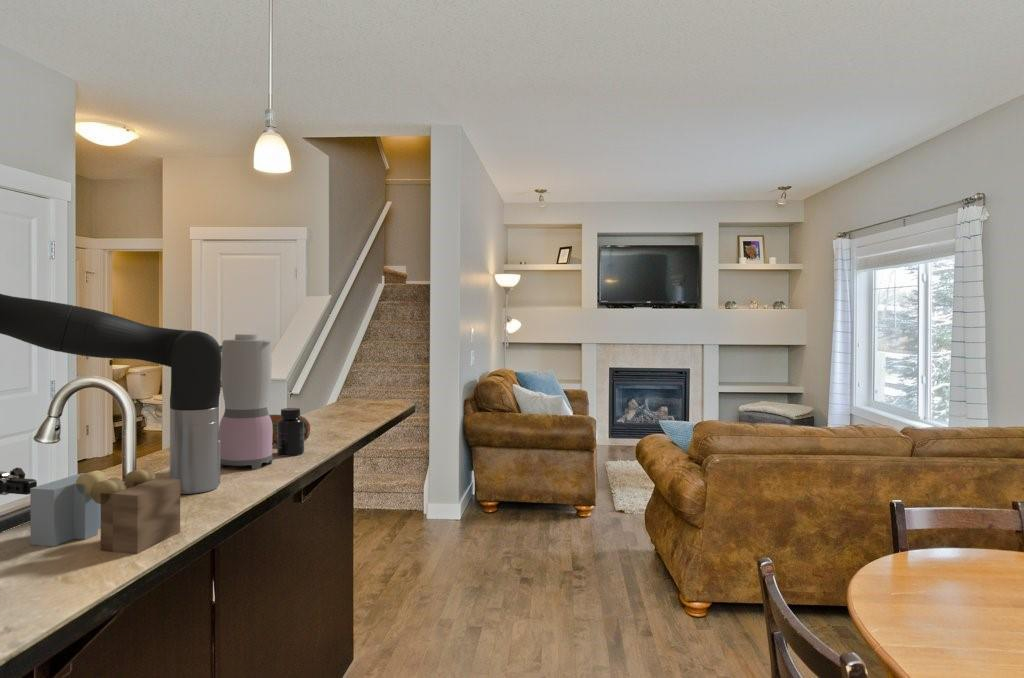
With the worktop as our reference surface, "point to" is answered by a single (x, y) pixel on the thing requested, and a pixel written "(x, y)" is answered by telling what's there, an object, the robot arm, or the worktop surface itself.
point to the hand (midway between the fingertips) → (32, 487)
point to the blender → (246, 401)
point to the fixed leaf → (137, 510)
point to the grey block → (65, 510)
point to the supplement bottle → (290, 432)
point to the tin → (277, 417)
